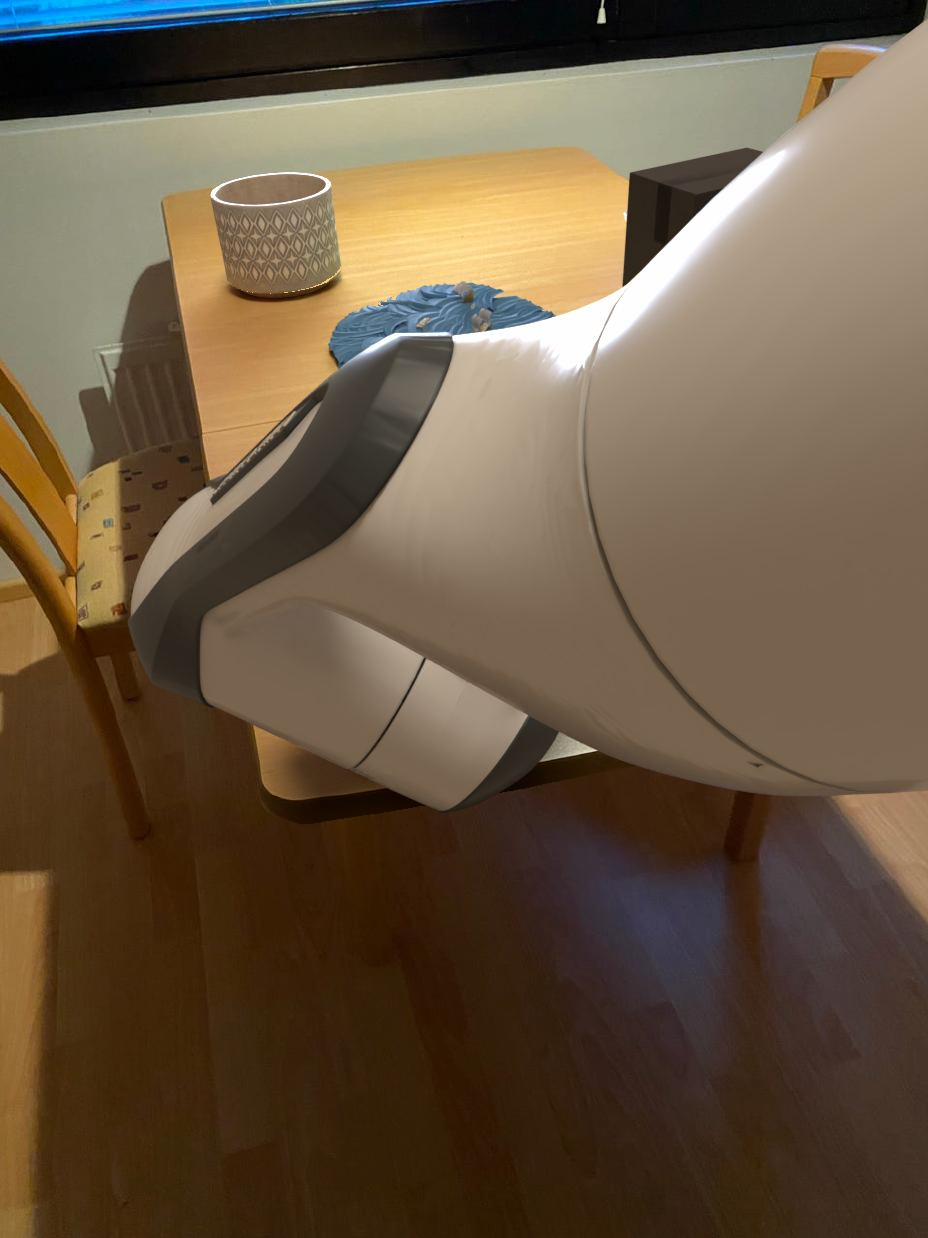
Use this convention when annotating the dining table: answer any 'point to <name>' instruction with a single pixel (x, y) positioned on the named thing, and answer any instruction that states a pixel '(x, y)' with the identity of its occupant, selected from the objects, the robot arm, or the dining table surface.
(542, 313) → the decorative plate
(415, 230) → the dining table surface
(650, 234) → the coffee maker
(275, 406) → the dining table surface
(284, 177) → the planter
